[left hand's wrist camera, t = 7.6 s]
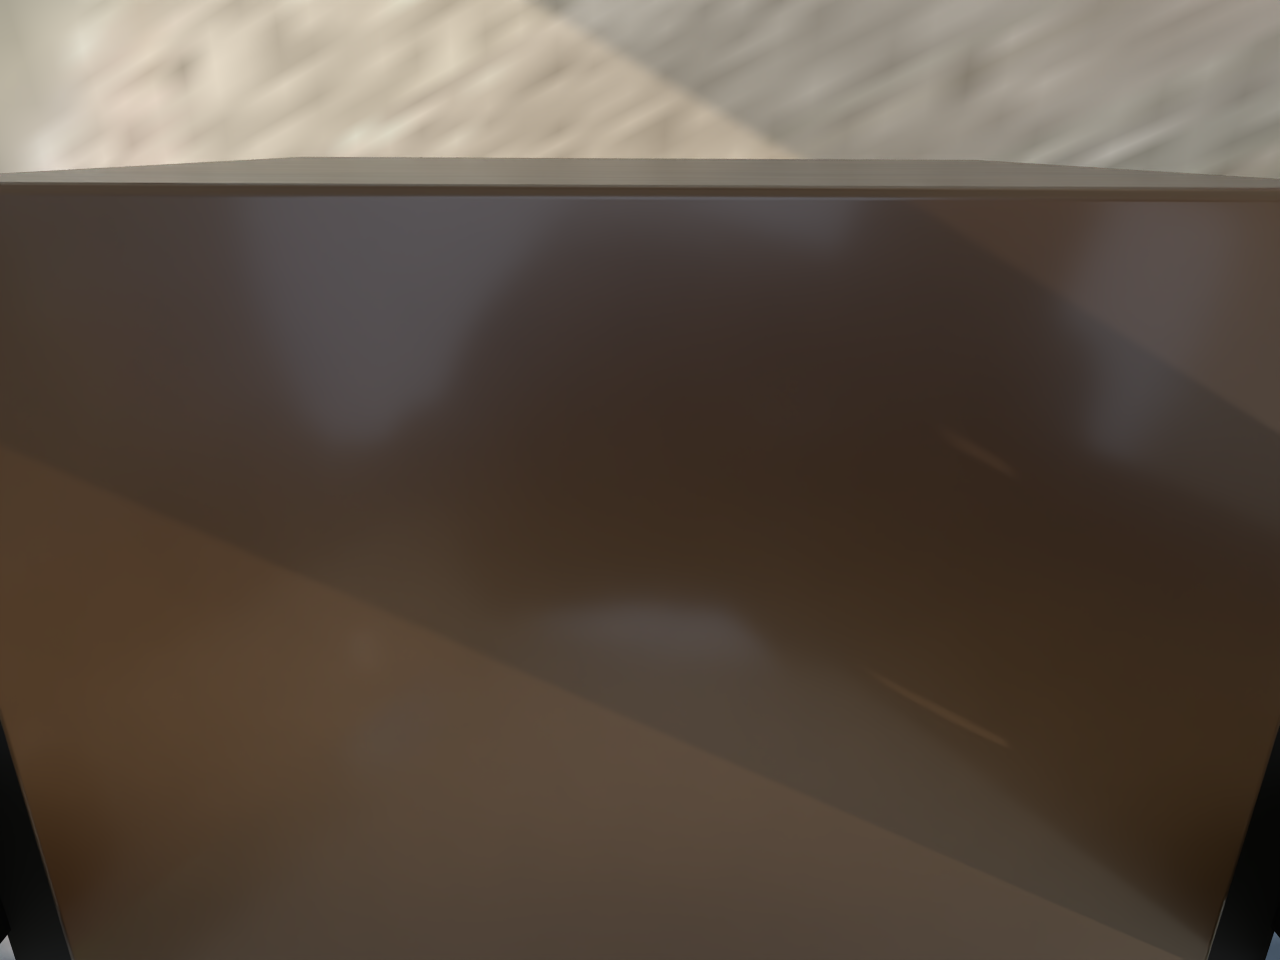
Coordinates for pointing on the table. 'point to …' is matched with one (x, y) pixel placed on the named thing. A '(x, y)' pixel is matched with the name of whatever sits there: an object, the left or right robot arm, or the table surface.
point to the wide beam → (639, 555)
